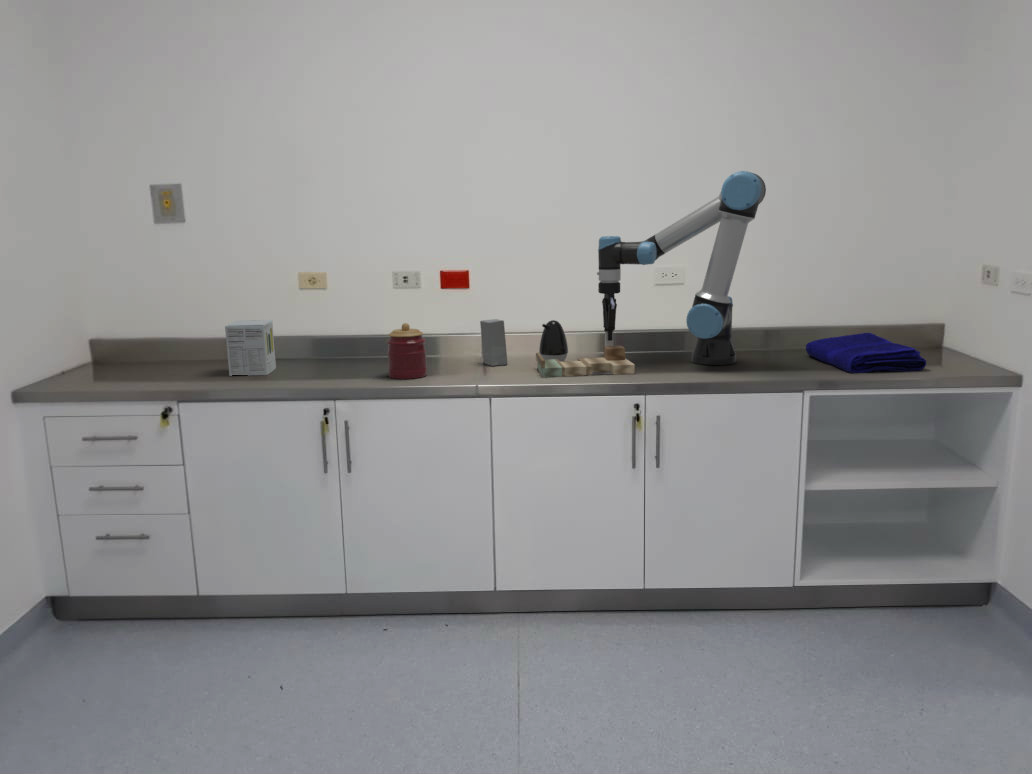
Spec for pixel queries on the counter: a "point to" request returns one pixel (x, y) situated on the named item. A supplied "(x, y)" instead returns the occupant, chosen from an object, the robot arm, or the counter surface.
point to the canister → (406, 353)
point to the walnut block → (614, 353)
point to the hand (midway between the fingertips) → (609, 349)
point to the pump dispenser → (553, 342)
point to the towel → (865, 354)
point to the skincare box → (493, 342)
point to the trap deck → (583, 367)
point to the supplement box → (250, 347)
